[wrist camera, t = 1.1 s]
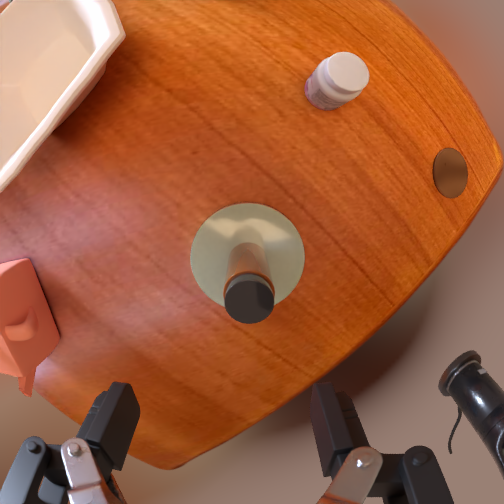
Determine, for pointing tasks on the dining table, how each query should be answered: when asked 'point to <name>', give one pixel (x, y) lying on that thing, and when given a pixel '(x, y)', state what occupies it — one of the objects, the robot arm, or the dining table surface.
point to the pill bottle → (336, 81)
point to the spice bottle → (248, 284)
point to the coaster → (450, 173)
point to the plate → (240, 231)
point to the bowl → (48, 69)
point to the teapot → (24, 323)
